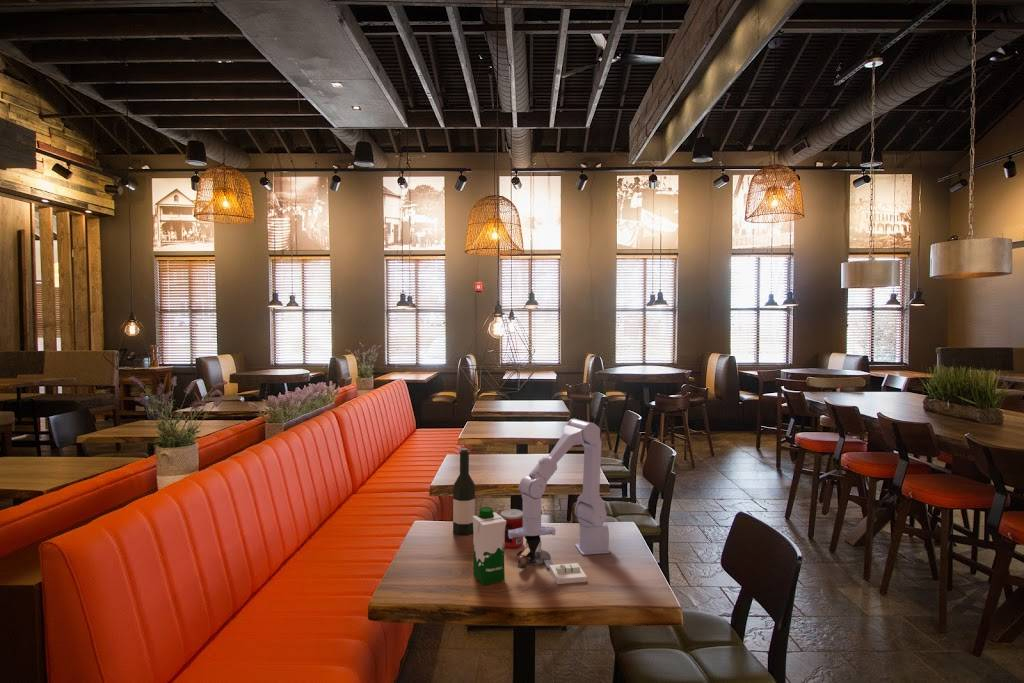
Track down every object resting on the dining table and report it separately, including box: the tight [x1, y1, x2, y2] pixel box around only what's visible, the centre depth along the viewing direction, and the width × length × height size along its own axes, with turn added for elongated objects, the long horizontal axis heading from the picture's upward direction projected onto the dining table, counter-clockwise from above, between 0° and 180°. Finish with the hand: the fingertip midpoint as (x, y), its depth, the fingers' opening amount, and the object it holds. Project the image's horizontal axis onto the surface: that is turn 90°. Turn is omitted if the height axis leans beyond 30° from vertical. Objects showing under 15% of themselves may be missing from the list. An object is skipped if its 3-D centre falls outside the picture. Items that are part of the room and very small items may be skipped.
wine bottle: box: [452, 447, 476, 537], centre depth 197 cm, size 8×8×30 cm
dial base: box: [516, 549, 554, 571], centre depth 175 cm, size 11×14×1 cm
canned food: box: [500, 508, 524, 550], centre depth 186 cm, size 8×8×11 cm
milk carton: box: [472, 506, 506, 586], centre depth 162 cm, size 9×9×20 cm
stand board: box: [548, 562, 588, 585], centre depth 164 cm, size 9×9×4 cm
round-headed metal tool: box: [517, 540, 542, 570], centre depth 172 cm, size 14×5×5 cm, turn 157°
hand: (532, 558), depth 170 cm, fingers closed, pressing on round-headed metal tool
